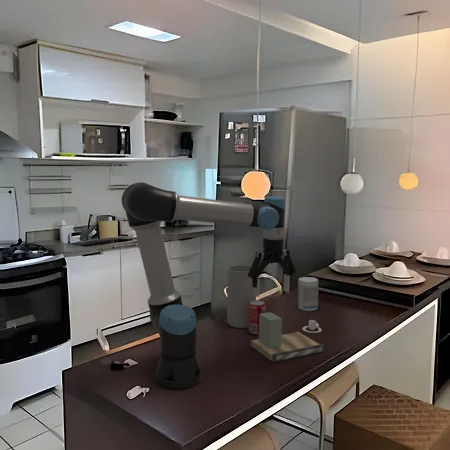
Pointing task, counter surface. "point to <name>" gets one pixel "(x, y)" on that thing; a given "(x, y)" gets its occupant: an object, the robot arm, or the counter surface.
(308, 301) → the supplement tub
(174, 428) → the counter surface
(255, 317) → the soda can
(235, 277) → the cylinder vase
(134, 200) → the robot arm
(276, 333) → the carton
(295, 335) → the shelf board
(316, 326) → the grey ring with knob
